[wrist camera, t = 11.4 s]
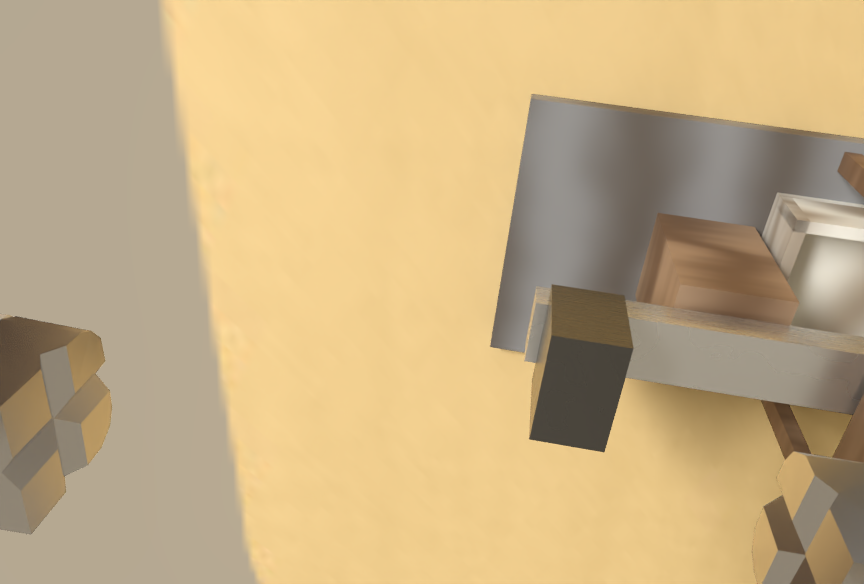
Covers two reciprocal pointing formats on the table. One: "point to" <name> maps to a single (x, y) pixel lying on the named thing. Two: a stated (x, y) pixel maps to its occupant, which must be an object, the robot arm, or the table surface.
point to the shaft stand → (690, 224)
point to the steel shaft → (671, 360)
